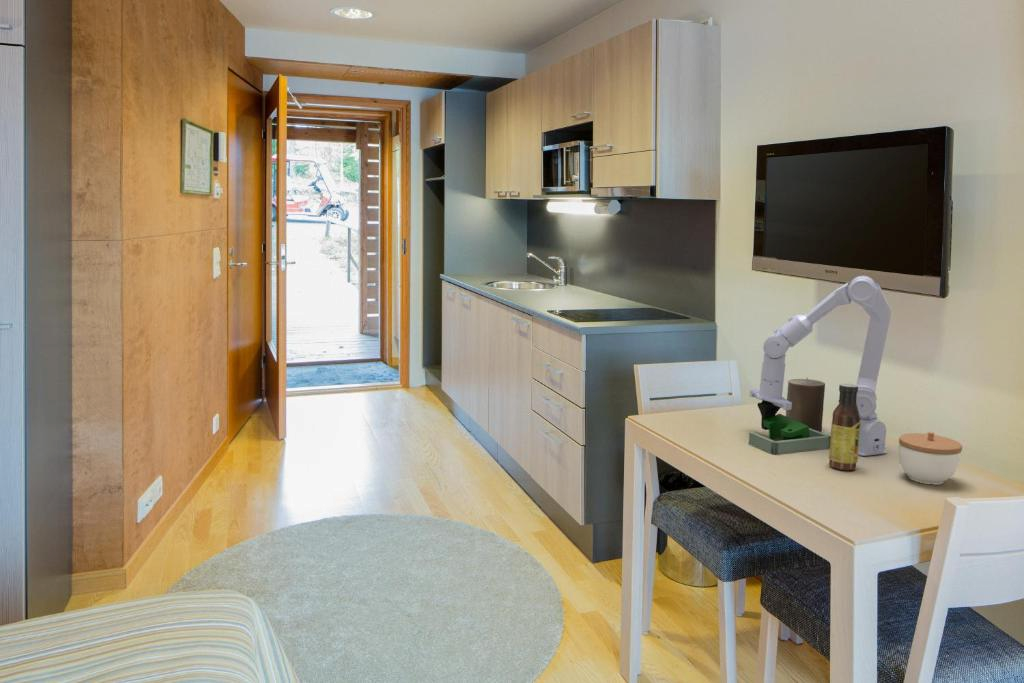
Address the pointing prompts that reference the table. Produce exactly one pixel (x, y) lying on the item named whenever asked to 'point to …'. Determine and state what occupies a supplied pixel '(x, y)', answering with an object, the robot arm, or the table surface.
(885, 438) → the robot arm
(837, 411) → the sauce bottle
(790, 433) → the clamp
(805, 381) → the pillar candle
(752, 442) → the bracket
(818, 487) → the table surface
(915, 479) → the lidded bowl
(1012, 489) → the table surface
